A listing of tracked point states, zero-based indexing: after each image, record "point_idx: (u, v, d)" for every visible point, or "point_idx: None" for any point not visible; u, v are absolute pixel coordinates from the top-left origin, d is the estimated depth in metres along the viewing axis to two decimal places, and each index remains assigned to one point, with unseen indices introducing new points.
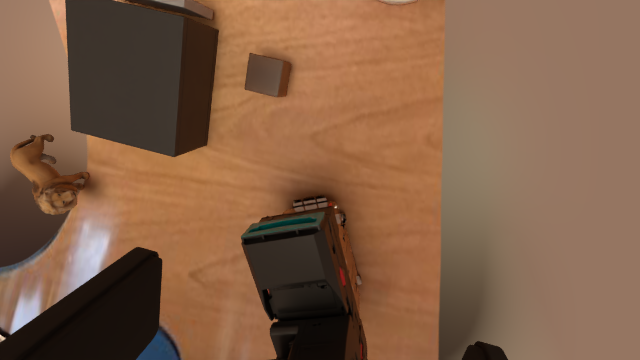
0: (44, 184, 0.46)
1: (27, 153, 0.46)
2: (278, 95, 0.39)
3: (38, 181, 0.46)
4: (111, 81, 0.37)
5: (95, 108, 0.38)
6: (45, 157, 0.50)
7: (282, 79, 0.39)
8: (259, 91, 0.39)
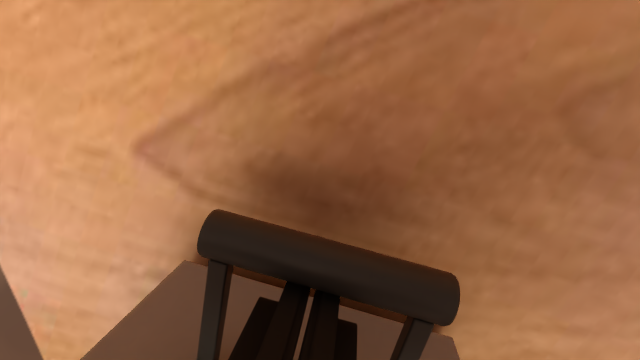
0: None
1: None
2: None
3: None
4: None
5: None
6: None
7: None
8: None
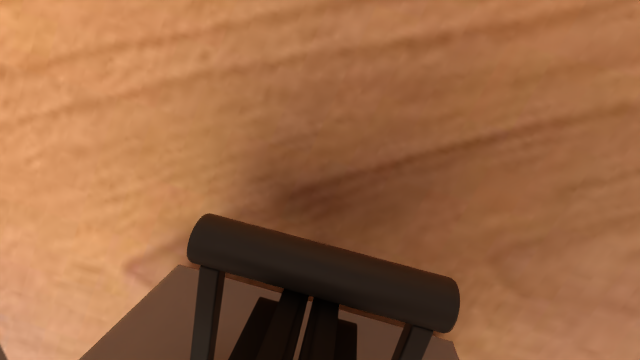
0: None
1: None
2: None
3: None
4: None
5: None
6: None
7: None
8: None
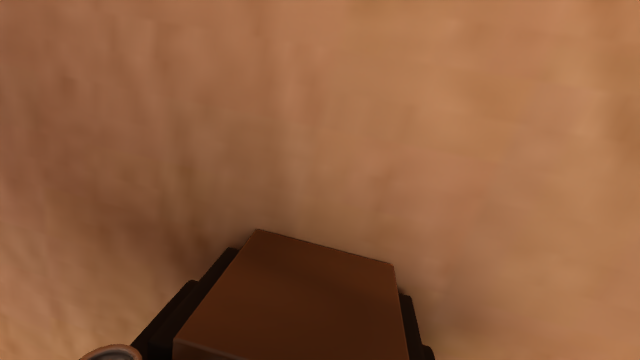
0: None
1: None
2: None
3: None
4: None
5: None
6: None
7: (301, 331, 0.06)
8: None
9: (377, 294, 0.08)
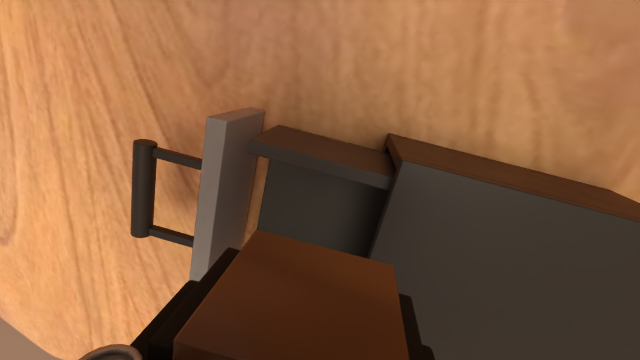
0: None
1: None
2: None
3: None
4: (507, 343, 0.17)
5: None
6: None
7: (302, 331, 0.06)
8: None
9: (377, 294, 0.08)
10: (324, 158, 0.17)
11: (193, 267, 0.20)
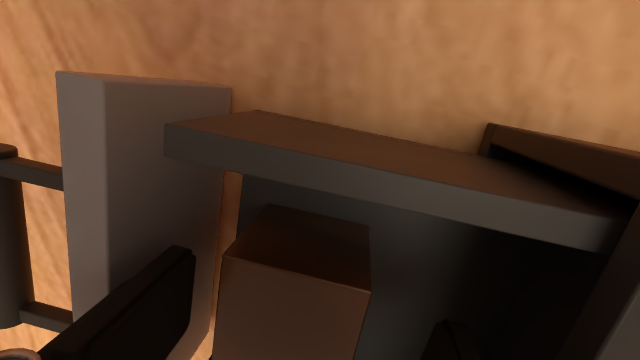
0: None
1: None
2: (364, 282, 0.09)
3: None
4: None
5: None
6: None
7: (301, 255, 0.10)
8: (347, 357, 0.09)
9: (354, 240, 0.11)
10: (351, 161, 0.07)
11: None
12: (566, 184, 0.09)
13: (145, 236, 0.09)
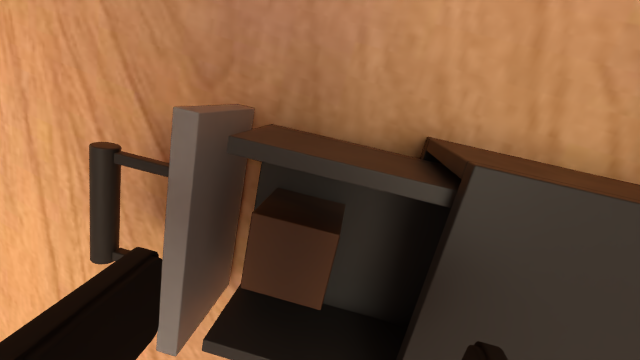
0: None
1: None
2: (336, 231, 0.15)
3: None
4: None
5: None
6: None
7: (299, 216, 0.16)
8: (325, 277, 0.15)
9: (333, 211, 0.17)
10: (326, 158, 0.13)
11: (163, 301, 0.16)
12: None
13: (205, 201, 0.15)
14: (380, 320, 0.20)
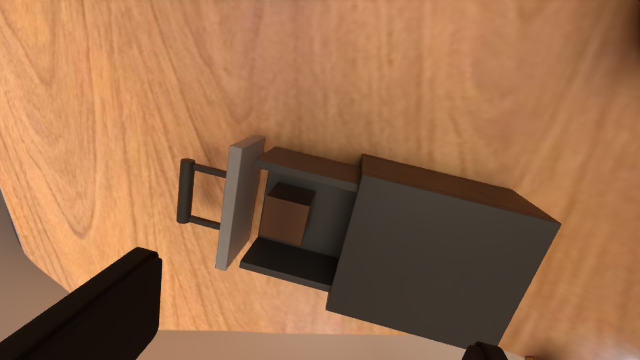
0: None
1: None
2: (308, 204, 0.30)
3: None
4: (433, 286, 0.28)
5: (466, 317, 0.28)
6: None
7: (289, 197, 0.30)
8: (302, 228, 0.30)
9: (308, 195, 0.32)
10: (301, 169, 0.27)
11: (220, 241, 0.30)
12: None
13: (241, 189, 0.30)
14: (337, 258, 0.36)
